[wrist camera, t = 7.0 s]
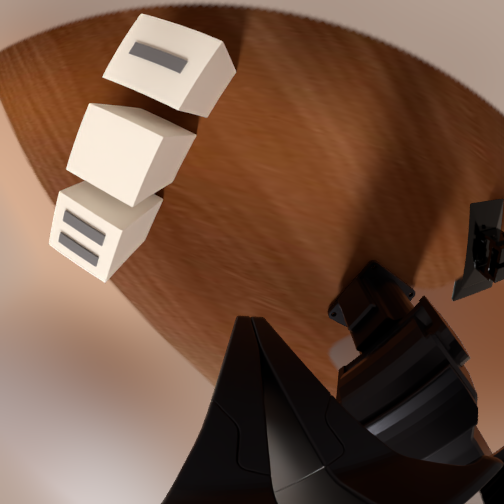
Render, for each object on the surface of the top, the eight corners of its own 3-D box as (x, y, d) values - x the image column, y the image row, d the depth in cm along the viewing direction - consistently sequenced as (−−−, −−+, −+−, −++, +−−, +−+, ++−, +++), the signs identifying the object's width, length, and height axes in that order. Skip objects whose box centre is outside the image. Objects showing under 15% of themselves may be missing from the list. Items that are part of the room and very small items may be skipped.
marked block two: (163, 199, 20) (121, 231, 14) (144, 240, 22) (104, 284, 15) (110, 169, 19) (55, 190, 13) (96, 210, 21) (45, 243, 14)
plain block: (196, 135, 18) (163, 137, 12) (172, 182, 20) (132, 207, 13) (141, 108, 17) (89, 103, 11) (120, 154, 19) (66, 169, 12)
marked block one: (236, 72, 16) (222, 40, 10) (207, 117, 18) (177, 110, 11) (175, 45, 15) (136, 11, 9) (148, 89, 17) (97, 75, 10)
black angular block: (463, 189, 19) (494, 204, 15) (505, 184, 18) (534, 197, 14) (450, 300, 24) (470, 325, 20) (491, 285, 23) (512, 305, 19)
